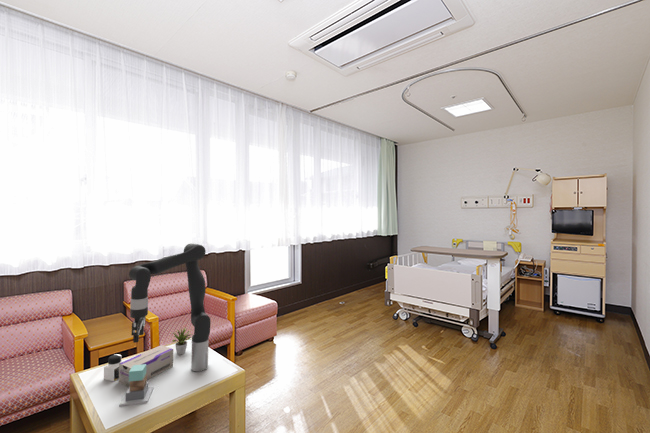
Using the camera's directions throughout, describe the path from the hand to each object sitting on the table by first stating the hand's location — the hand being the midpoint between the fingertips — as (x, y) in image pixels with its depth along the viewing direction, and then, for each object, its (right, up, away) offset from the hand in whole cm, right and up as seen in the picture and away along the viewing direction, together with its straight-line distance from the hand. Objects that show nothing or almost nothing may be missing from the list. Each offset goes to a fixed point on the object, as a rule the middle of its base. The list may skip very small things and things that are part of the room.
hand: (138, 338), depth 151 cm
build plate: (-1, -30, +1) cm, 30 cm away
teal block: (-1, -20, +1) cm, 20 cm away
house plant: (-2, -29, +46) cm, 54 cm away
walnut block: (-1, -25, +1) cm, 25 cm away
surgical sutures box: (-8, -30, +22) cm, 37 cm away
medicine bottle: (-24, -29, +17) cm, 41 cm away
